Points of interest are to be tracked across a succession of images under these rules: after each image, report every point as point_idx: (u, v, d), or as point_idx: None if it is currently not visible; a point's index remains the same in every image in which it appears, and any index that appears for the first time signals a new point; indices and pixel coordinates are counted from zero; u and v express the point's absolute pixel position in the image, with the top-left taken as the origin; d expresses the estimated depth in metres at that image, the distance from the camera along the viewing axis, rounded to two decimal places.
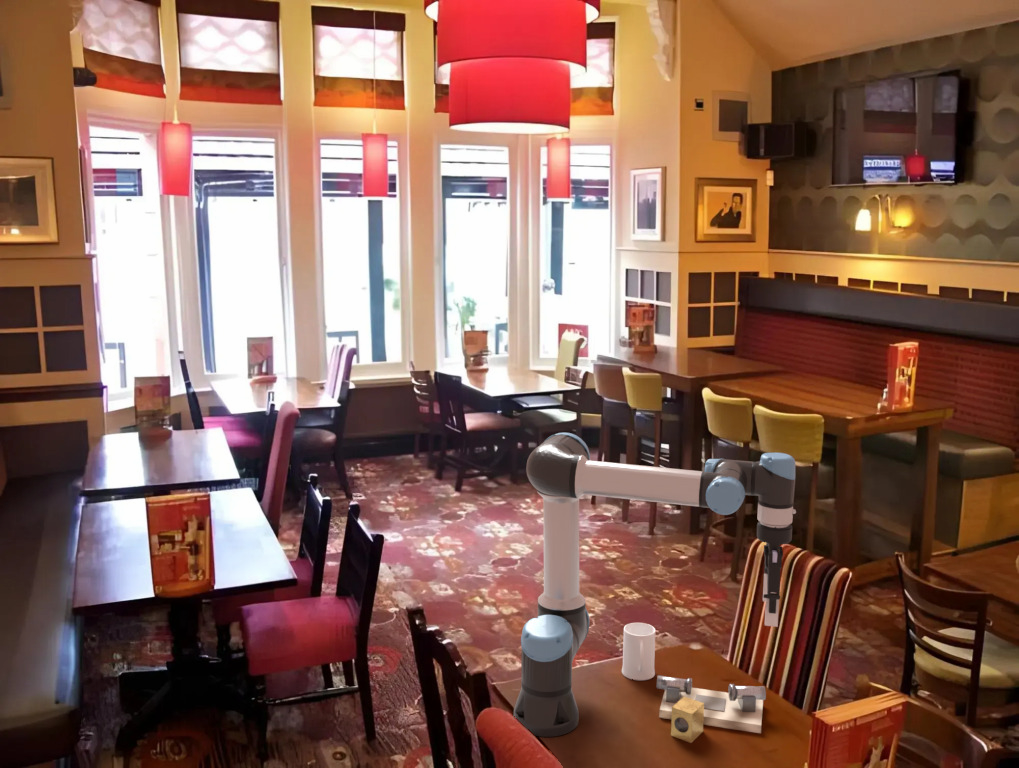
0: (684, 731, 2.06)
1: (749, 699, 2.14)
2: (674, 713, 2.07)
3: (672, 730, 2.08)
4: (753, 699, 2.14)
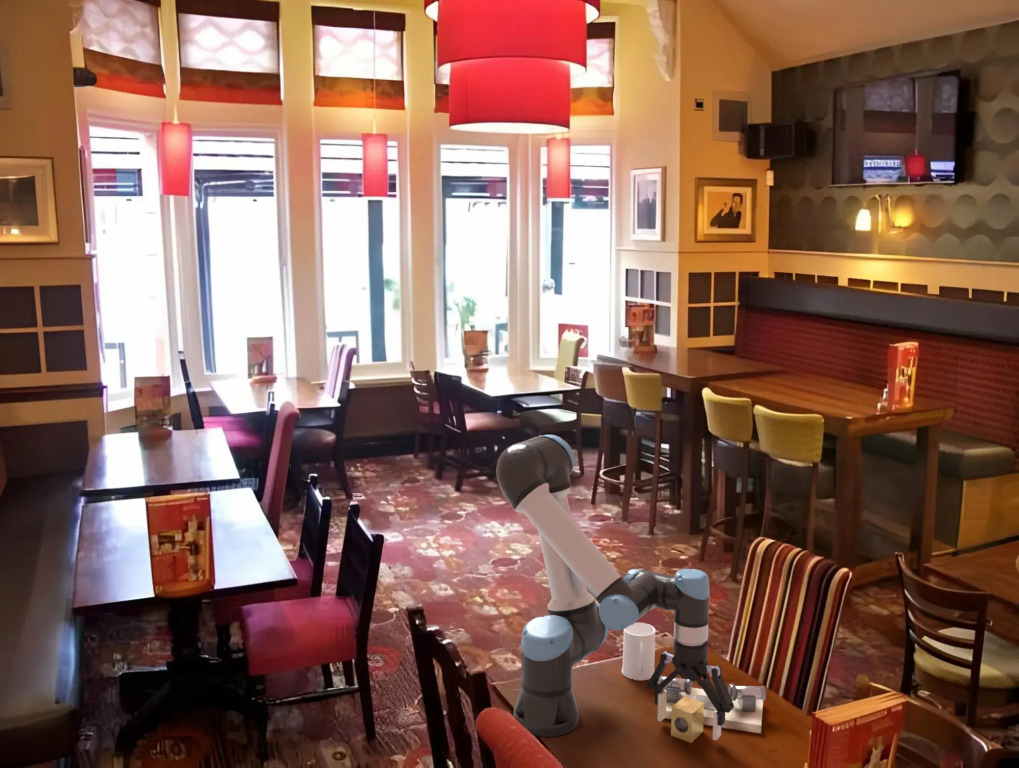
0: (684, 731, 2.06)
1: (749, 699, 2.14)
2: (674, 713, 2.07)
3: (672, 730, 2.08)
4: (753, 699, 2.14)
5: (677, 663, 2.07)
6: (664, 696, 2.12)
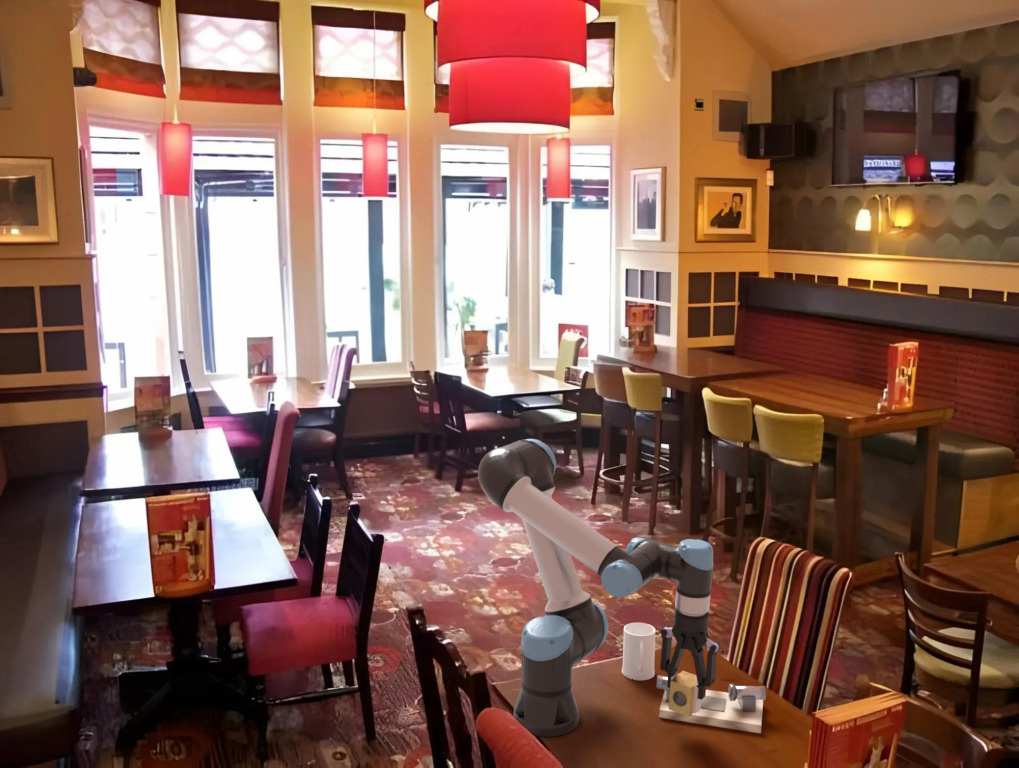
0: (682, 705, 2.05)
1: (749, 699, 2.14)
2: (673, 687, 2.06)
3: (670, 704, 2.07)
4: (753, 699, 2.14)
5: (677, 632, 2.06)
6: None
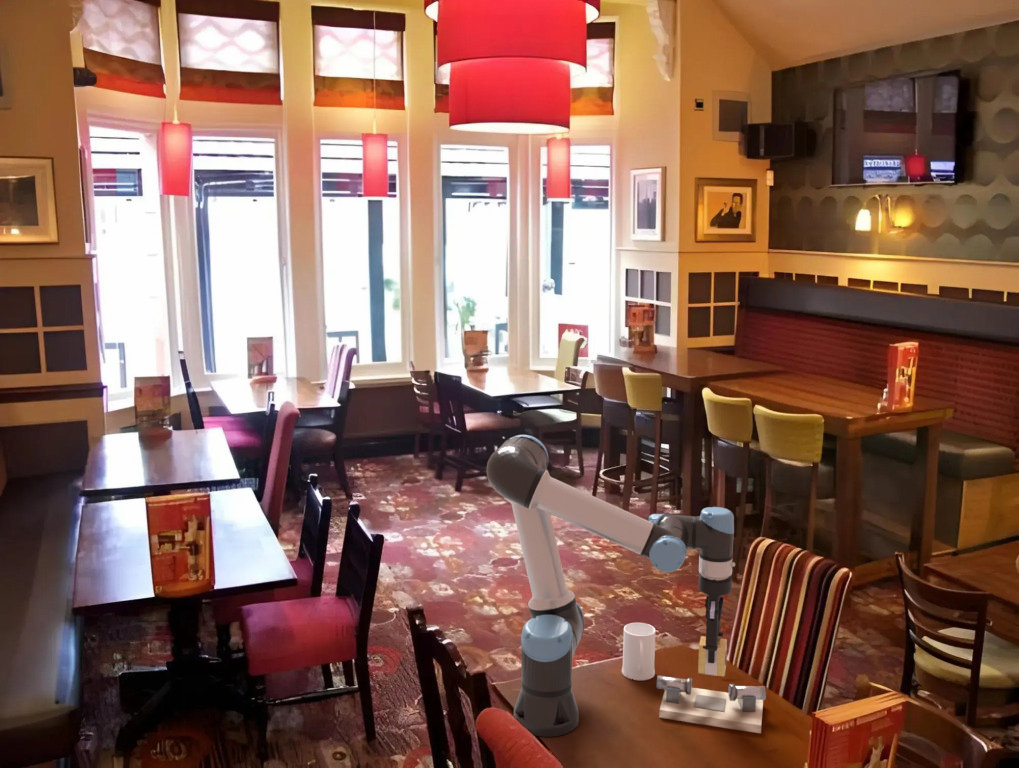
0: None
1: (749, 699, 2.14)
2: None
3: None
4: (753, 699, 2.14)
5: None
6: None
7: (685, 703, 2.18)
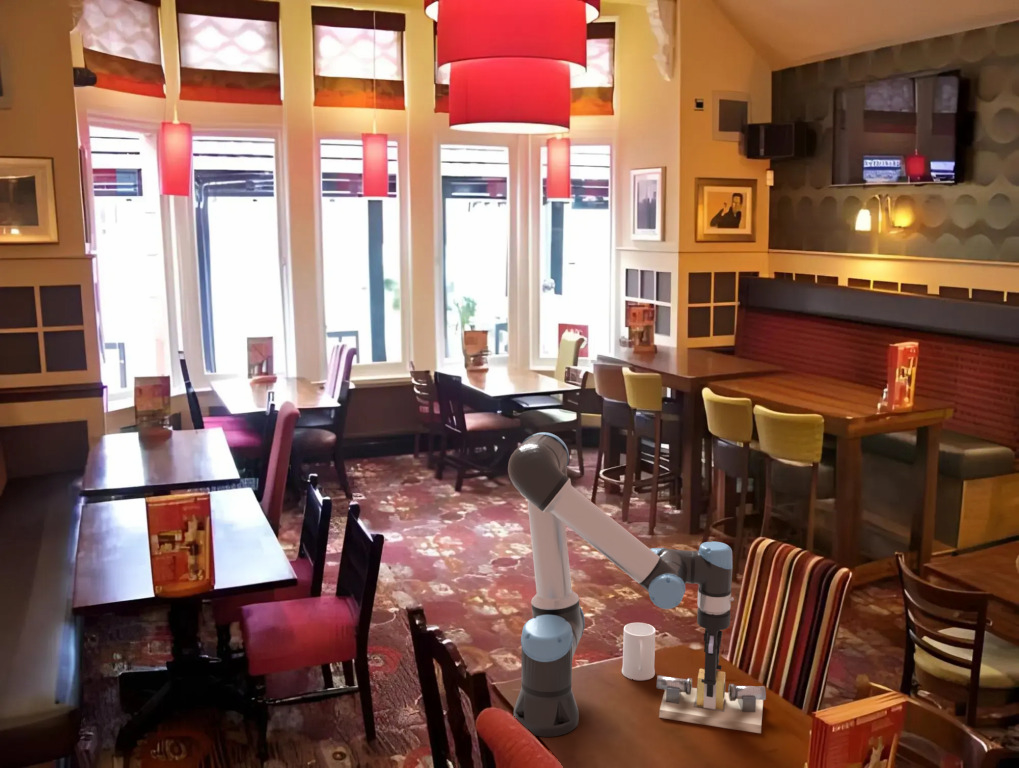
0: None
1: (749, 699, 2.14)
2: None
3: None
4: (753, 699, 2.14)
5: None
6: None
7: (685, 703, 2.18)
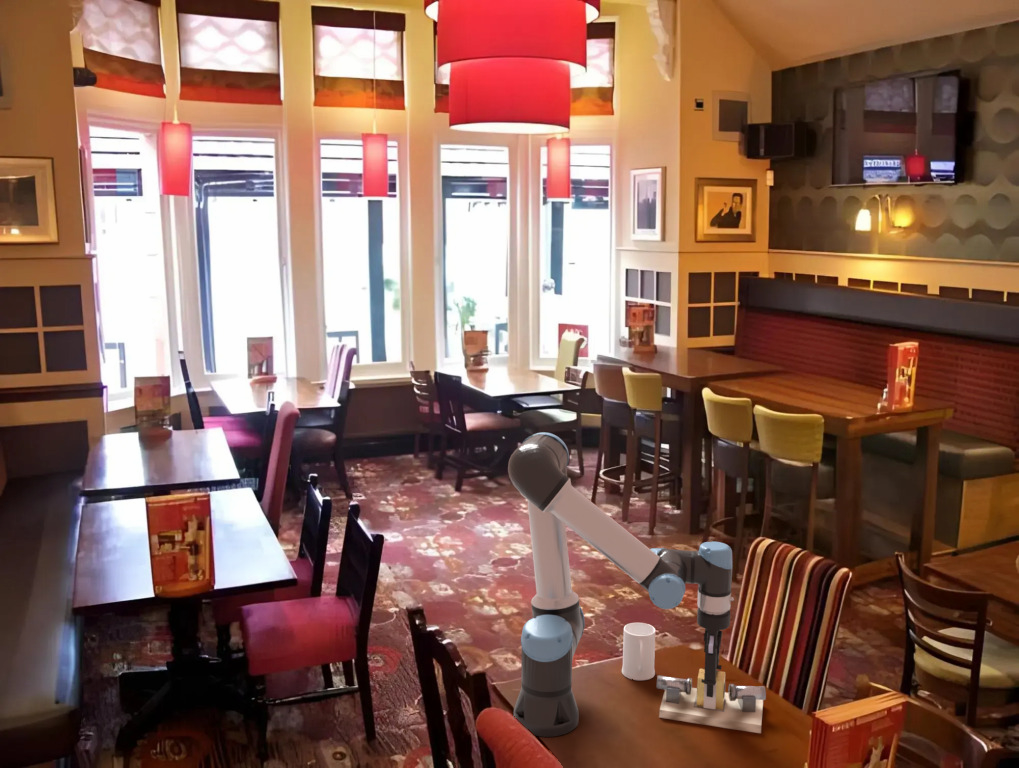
0: None
1: (749, 699, 2.14)
2: None
3: None
4: (753, 699, 2.14)
5: None
6: None
7: (685, 703, 2.18)
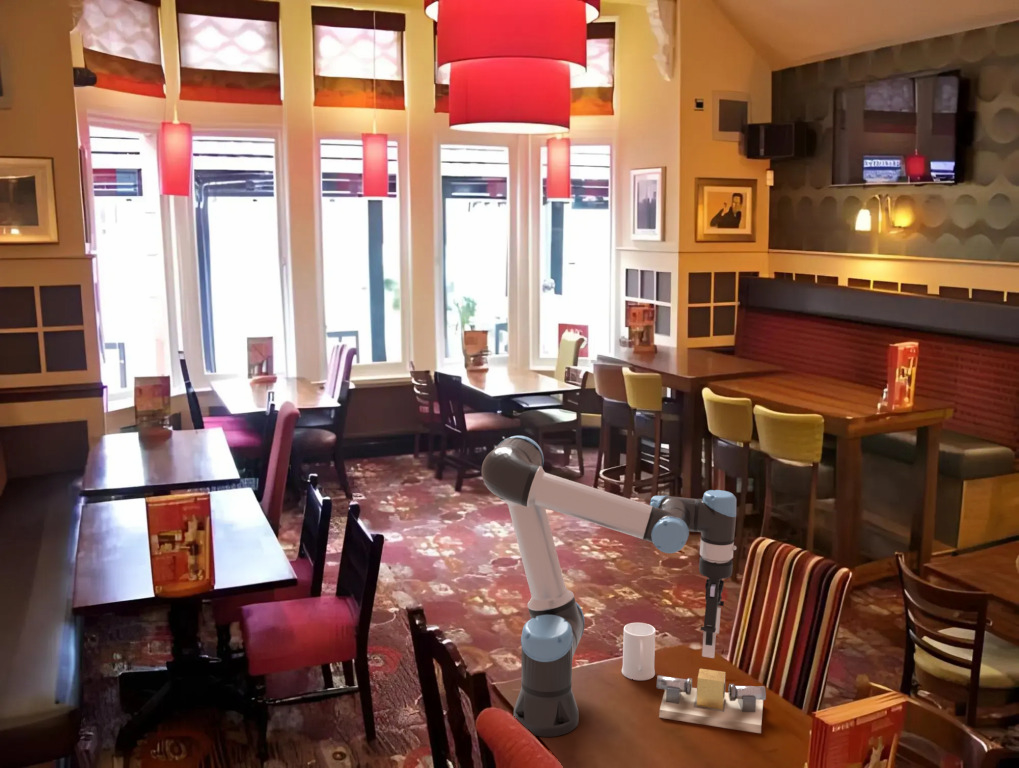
0: None
1: (749, 699, 2.14)
2: None
3: None
4: (753, 699, 2.14)
5: None
6: (716, 611, 2.21)
7: (685, 703, 2.18)
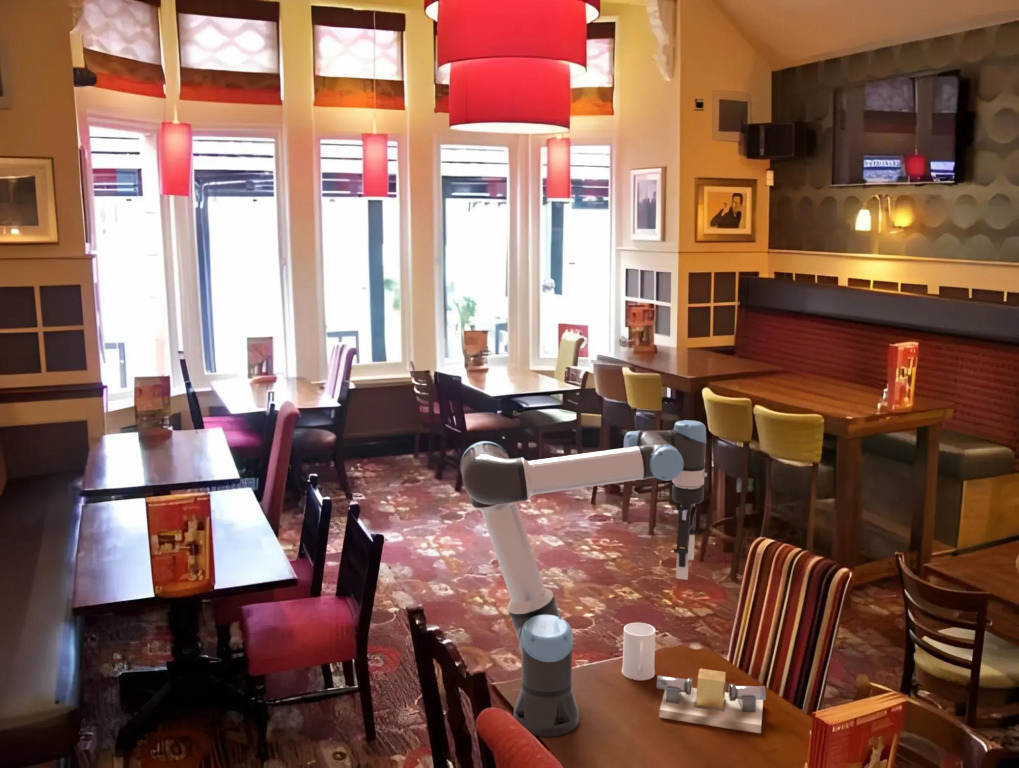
0: None
1: (749, 699, 2.14)
2: None
3: None
4: (753, 699, 2.14)
5: None
6: (690, 539, 2.31)
7: (685, 703, 2.18)
